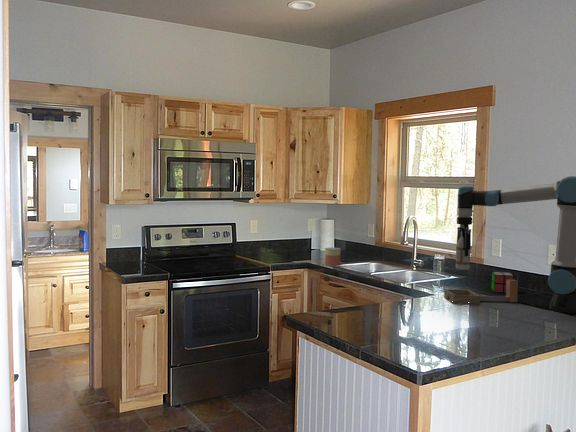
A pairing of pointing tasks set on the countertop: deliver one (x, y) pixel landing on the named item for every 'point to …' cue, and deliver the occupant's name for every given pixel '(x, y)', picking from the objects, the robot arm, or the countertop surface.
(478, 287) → the countertop surface
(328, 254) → the canned food
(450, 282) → the countertop surface
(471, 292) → the brown shallow tray
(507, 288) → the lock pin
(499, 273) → the puzzle cube
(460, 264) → the bath foam
